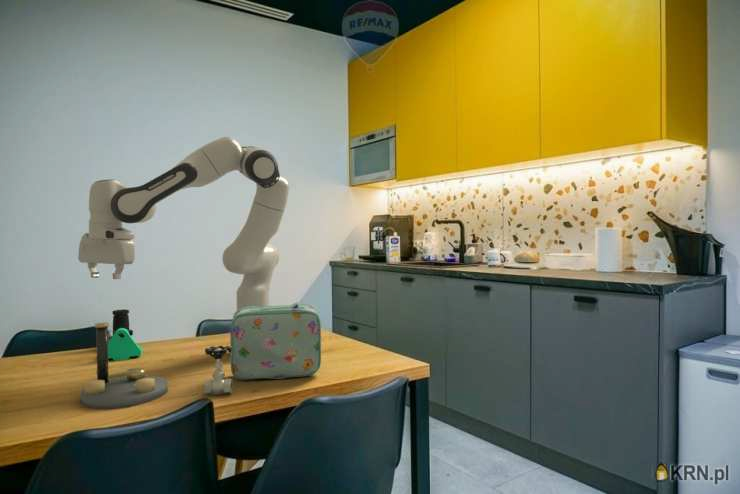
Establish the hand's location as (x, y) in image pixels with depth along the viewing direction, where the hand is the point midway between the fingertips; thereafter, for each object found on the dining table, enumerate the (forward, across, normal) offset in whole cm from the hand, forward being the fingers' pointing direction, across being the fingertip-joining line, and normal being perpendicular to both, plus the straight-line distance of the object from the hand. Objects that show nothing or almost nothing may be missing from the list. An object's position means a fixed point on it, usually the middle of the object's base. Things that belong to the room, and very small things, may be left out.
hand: (105, 278), depth 145 cm
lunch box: (+28, +52, +15) cm, 61 cm away
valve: (+28, +48, -5) cm, 55 cm away
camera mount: (+29, -10, +14) cm, 34 cm away
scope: (+29, -22, +24) cm, 44 cm away
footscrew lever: (+26, +20, -11) cm, 34 cm away
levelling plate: (+28, +25, -14) cm, 40 cm away
